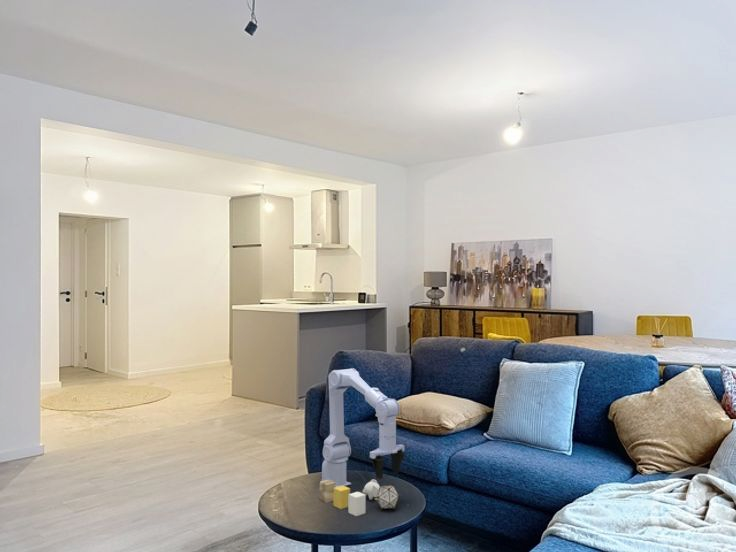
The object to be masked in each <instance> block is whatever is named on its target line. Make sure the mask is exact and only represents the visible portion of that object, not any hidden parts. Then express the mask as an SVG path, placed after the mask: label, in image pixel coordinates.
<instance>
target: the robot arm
mask: <svg viewBox="0 0 736 552" xmlns="http://www.w3.org/2000/svg"><path fill="white" fill-rule="evenodd" d="M327 376H328V399H329V400H328V401H329V402H328V404H329V409H328V410H329V435H328V436H327V437H326V438H325V439H324V441H323V448H322V456H323V459H324V460H323V462H322V464H321V465H322V466H321V480H320V481H319V483H320V482H322V481H325V480H331V481H333V482H336V487H339V486H342V485H343V486H345V487H348V486H351V485H352V483H351V482H350V481H347V461H348V460H349V457H351V454H352V448H351V444H350V438H349V437H348V436H347V435H346V434H345V422H344V421H345V419H344V418H345V416H344V409H345V407H344V393H345V392H346V391H347V389H349V388H351V387H353V388H354V389H355V390H357V392H360V393H361V394H362V395H363V396H364V400H365V402H366V403H368V404H369V405H370V406H371V407H372V408H373V409H375V413H376V415H377V421H378V425H379V428H378V431H379V434H378V435H379V436H378V439H379V440H378V441H379V442H378V447H377V448H376V449H374V450H372V451H369V460H370V462H371V464H372V467H373V468H374V472H375V476H376V478H377V479H380V480H381V479H383V475H384V474H383V473H384V472H383V471H384V464H385V462H386V459H385V458H383V457H382V456H386V455H390V458H391V466H392V467H391V470H392V473H393V474H395V475H398V474H399V473H400V472H399V471H400V467H401V464H402V462H403V459H404V457H405V455H406V453H405V452H404V451H405V445H404V444H397V416H398V414H399V413H400V411H401V410H400V409H401V408H400V404H399V402H398V401H397V400H396V399H395V398H388V396H387V395H385V394H384V393H382V392H381V391H380V389H379V388H378V387H370V385H369V384H368V383H367V382H366V381H365V379H364V380H363V378H362V377H361V376H360V372H359V371H357V369H356V368H353V367H352V368H351V367H350V368H346V369H344V368H343V369H333V370H332V371H331V372H330V373H329V374H328V375H327Z"/></svg>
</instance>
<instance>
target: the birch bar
mask: <svg viewBox="0 0 736 552" xmlns="http://www.w3.org/2000/svg"><path fill="white" fill-rule="evenodd" d="M321 481H322V480H321ZM335 487H336V482H333V481H331V480H325V481H322V482H320V481H319V500H321V501H322V502H325V503H330V502H332V501H333V502H334V488H335Z"/></svg>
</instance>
